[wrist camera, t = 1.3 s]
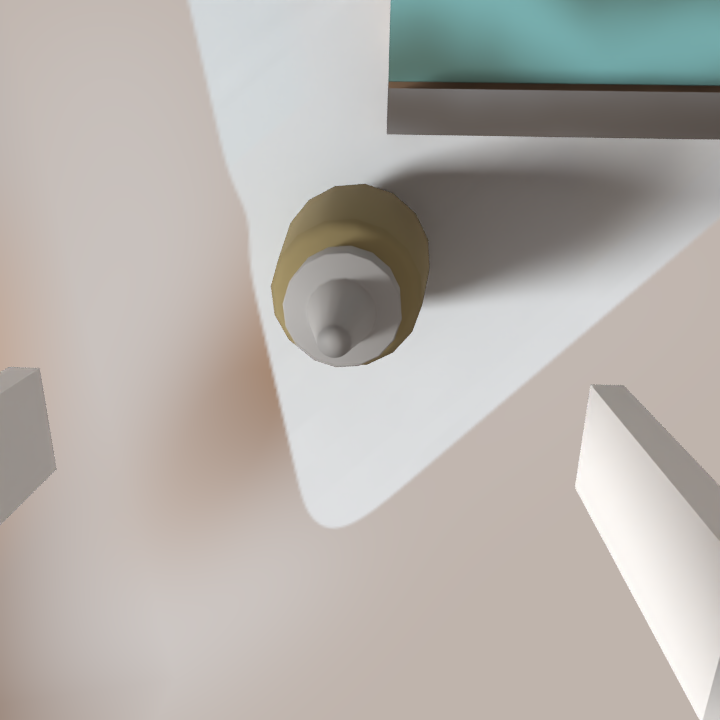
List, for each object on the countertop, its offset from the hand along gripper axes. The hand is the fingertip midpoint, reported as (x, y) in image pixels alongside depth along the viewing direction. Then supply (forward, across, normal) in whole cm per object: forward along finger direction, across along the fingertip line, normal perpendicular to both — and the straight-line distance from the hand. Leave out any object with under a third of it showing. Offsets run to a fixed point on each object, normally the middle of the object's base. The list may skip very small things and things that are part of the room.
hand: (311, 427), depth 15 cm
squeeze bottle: (+24, 0, 0) cm, 24 cm away
